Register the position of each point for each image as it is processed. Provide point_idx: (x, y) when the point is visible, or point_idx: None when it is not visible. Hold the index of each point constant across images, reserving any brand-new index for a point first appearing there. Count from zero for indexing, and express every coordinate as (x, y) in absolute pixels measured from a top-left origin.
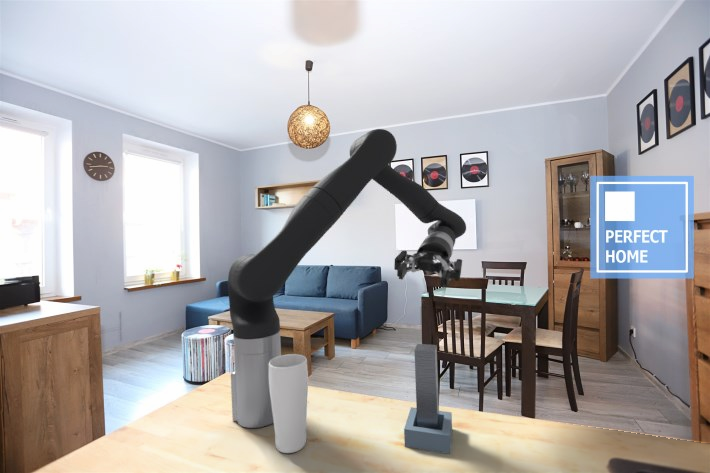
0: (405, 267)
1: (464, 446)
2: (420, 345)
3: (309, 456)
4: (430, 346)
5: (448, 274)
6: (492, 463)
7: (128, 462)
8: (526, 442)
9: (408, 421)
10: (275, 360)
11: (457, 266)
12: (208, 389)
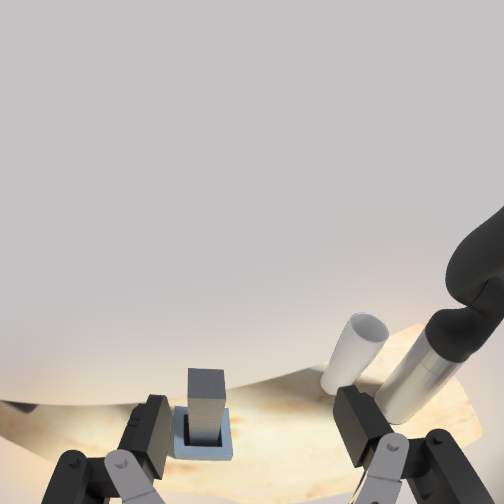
0: (355, 421)
1: None
2: (217, 391)
3: (307, 379)
4: (198, 389)
5: (129, 438)
6: (134, 406)
7: (402, 333)
8: (92, 439)
9: (227, 422)
10: (385, 331)
11: (67, 489)
12: (466, 406)
